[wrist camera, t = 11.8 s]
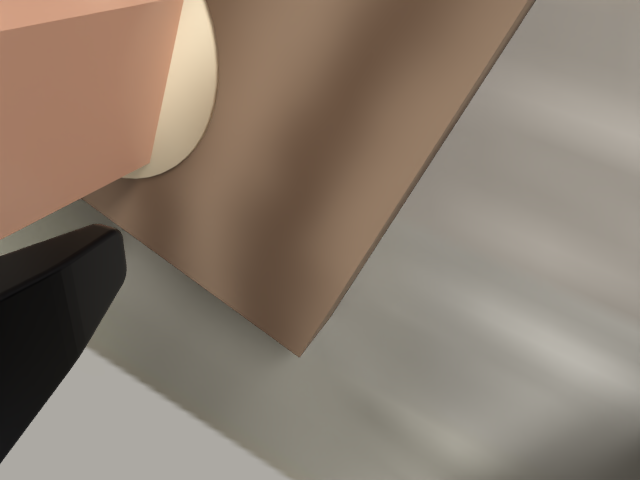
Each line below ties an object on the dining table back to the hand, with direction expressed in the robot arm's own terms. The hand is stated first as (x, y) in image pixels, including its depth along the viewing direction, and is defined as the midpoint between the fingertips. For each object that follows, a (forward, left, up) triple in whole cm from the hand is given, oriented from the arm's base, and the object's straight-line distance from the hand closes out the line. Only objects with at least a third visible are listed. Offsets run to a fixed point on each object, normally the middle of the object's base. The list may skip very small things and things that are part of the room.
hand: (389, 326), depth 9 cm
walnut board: (+10, -2, -13) cm, 17 cm away
